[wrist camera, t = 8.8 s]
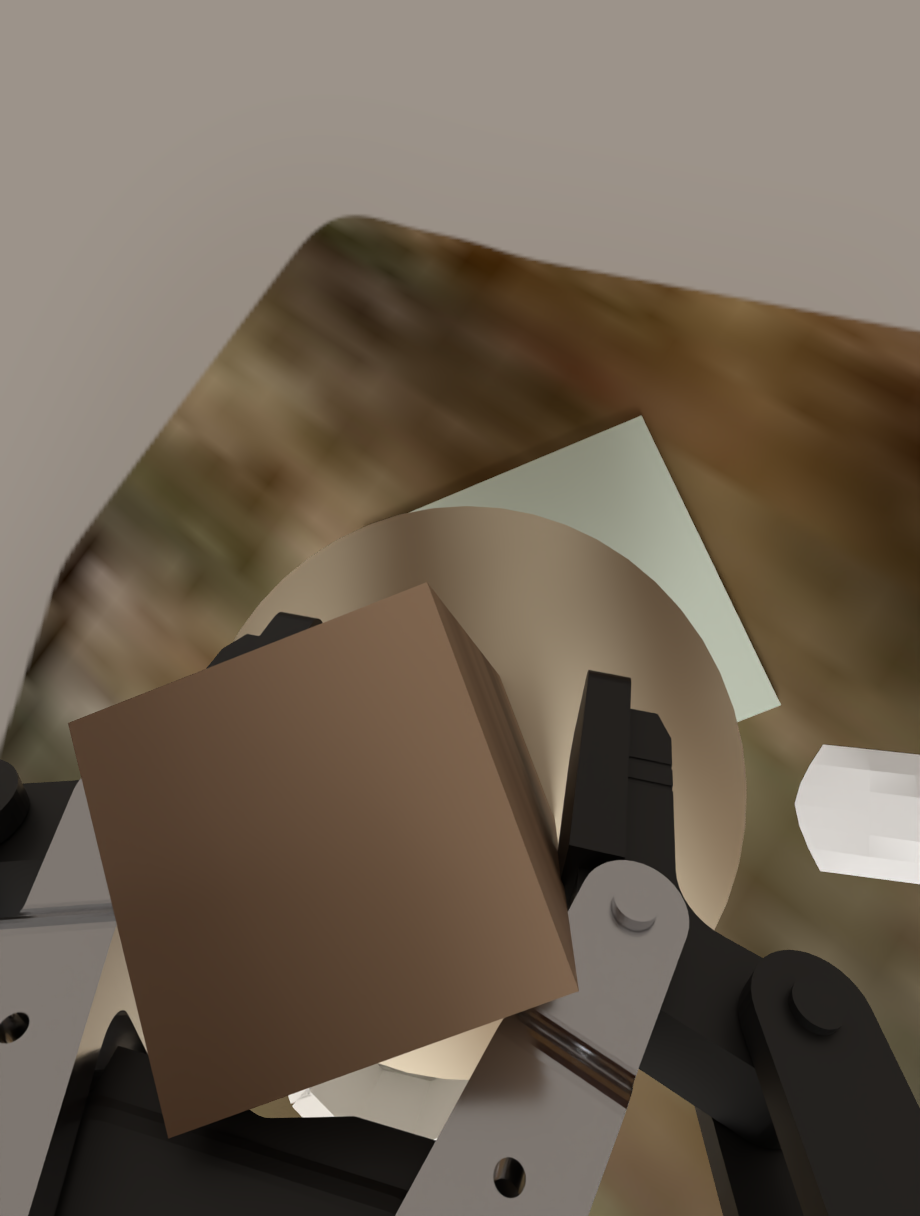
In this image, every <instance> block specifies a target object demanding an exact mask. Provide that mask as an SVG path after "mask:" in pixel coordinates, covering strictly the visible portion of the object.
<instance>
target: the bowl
mask: <svg viewBox="0 0 920 1216" xmlns="http://www.w3.org/2000/svg"><path fill="white" fill-rule="evenodd" d="M468 1081H469V1080H456V1079H441V1078H436V1077H430V1076H424V1075H418V1074H413V1073H407V1072H404V1071H401V1070H398V1069H395V1068H392V1067H389V1066H386V1065H382V1064H379V1063H377V1064H374V1065H372V1066H369V1067H366V1068H363V1069H361V1070H358V1071H355V1072H352V1073H349V1074H347V1075H344V1076H341V1077H338V1078H335V1079H333V1080H330V1081H327V1082H324V1083H322V1084H319V1085H316V1086H313V1087H310V1088H308V1089H305V1090H302V1091H299V1092H296V1093H294V1094H291V1095H288V1096H289V1100H290V1103H293V1102H295V1103H294V1105H293V1106H292V1107H293V1108H294V1109H295V1110H296V1111H297V1112H298V1113H299V1114H300V1115H301V1116H302V1117H343V1116H356V1117H359V1118H362V1119H366V1120H369V1121H373V1122H376V1123H379V1124H383V1125H386V1126H389V1127H393V1128H396V1129H399V1130H403V1131H406V1132H409V1133H413V1134H416V1135H420V1136H423V1137H426V1138H430V1139H433V1140H437V1138H438V1136H439V1134H440V1132H441V1131H442V1129H443V1127H444V1125H445V1123H446V1121H447V1120H448V1118H449V1116H450V1114H451V1112H452V1110H453V1109H454V1107H455V1105H456V1103H457V1101H458V1099H459V1098H460V1096H461V1094H462V1092H463V1090H464V1088H465V1087H466V1085H467V1083H468Z"/></svg>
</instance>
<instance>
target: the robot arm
mask: <svg viewBox="0 0 920 1216" xmlns="http://www.w3.org/2000/svg"><path fill="white" fill-rule="evenodd" d="M322 623H323V622H322V621H321V619H318V618H312V617H307V616H302V615H296V614H291V613H285V612H279V613H277V614H276V615H275V616H274V618H273V619H272V620H271V621H270V623H269V624H268V625H267V627H266V628H265V629H264V631H263V632H262V633H261V635H260V636H256V635H251V634H246V635H244V636H242V637H241V638H239V639H238V640H236V641H234V642H233V643H231V644H230V645H228V646H226V647H225V648H223V649H222V650H221V651H220V652H219V654H218V655H217V656H216V657H215V658H214V660H213V661H212V662H211V663H210V665H209V666H208V667H207V668H210V667H212V666H215V665H217V664H220V663H222V662H225V661H227V660H230V659H233V658H235V657H238V656H240V655H243V654H245V653H248V652H250V651H253V650H255V649H258V648H260V647H263V646H266V645H268V644H271V643H273V642H276V641H278V640H281V639H283V638H286V637H288V636H291V635H294V634H296V633H299V632H301V631H304V630H306V629H309V628H311V627H314V626H316V625H319V624H322ZM207 668H206V669H207ZM630 708H631V678H630V677H625V676H619V675H614V674H609V673H603V672H598V671H593V670H588V672H587V676H586V680H585V685H584V689H583V694H582V699H581V703H580V708H579V713H578V717H577V722H576V726H575V731H574V736H573V741H572V747H571V753H570V759H569V765H568V773H567V781H566V788H565V796H564V804H563V812H562V819H561V827H560V835H559V843H558V850H557V852H558V860H559V868H560V876H561V880H562V883H563V885H564V888H565V895H566V903H567V910H568V912H567V913H568V917H569V924H570V931H571V938H572V945H573V952H574V959H575V967H576V974H577V981H578V988H579V991H578V992H575V993H572V994H569V995H567V996H564V997H561V998H558V999H555V1000H553V1001H550V1002H547V1003H544V1004H542V1005H539V1006H536V1007H533V1008H530V1009H528V1010H525V1011H522V1012H519V1013H516V1014H514V1015H511V1016H508V1017H505V1018H504V1019H503V1020H502V1022H501V1023H500V1025H499V1027H498V1028H497V1030H496V1032H495V1033H494V1035H493V1037H492V1039H491V1041H490V1042H489V1044H488V1046H487V1048H486V1050H485V1052H484V1053H483V1055H482V1057H481V1059H480V1061H479V1063H478V1064H477V1066H476V1068H475V1070H474V1072H473V1074H472V1075H471V1077H470V1079H469V1081H468V1083H467V1085H466V1087H465V1088H464V1090H463V1092H462V1094H461V1096H460V1098H459V1099H458V1101H457V1103H456V1105H455V1107H454V1109H453V1110H452V1112H451V1114H450V1116H449V1118H448V1120H447V1121H446V1123H445V1125H444V1127H443V1129H442V1131H441V1132H440V1134H439V1136H438V1138H437V1140H433V1139H430V1138H426V1137H423V1136H420V1135H416V1134H413V1133H409V1132H406V1131H403V1130H399V1129H396V1128H393V1127H389V1126H386V1125H383V1124H379V1123H376V1122H373V1121H369V1120H366V1119H362V1118H359V1117H356V1116H343V1117H301V1118H264V1117H261V1116H258V1115H257V1114H255V1113H253V1112H252V1111H251V1110H246V1111H244V1112H241V1113H238V1114H235V1115H232V1116H230V1117H227V1118H224V1119H221V1120H218V1121H216V1122H213V1123H210V1124H207V1125H205V1126H202V1127H199V1128H196V1129H193V1130H191V1131H188V1132H185V1133H182V1134H180V1135H177V1136H174V1137H171V1138H168V1135H167V1131H166V1127H165V1122H164V1118H163V1114H162V1110H161V1106H160V1102H159V1098H158V1093H157V1089H156V1085H155V1081H154V1077H153V1073H152V1069H151V1064H150V1060H149V1056H148V1052H147V1048H146V1044H145V1040H144V1035H143V1031H142V1027H141V1023H140V1019H139V1015H138V1011H137V1006H136V1002H135V998H134V994H133V990H132V986H131V982H130V977H129V973H128V969H127V965H126V961H125V957H124V953H123V948H122V944H121V940H120V936H119V932H118V928H117V924H116V919H115V915H114V911H113V907H112V903H111V899H110V895H109V890H108V886H107V882H106V878H105V874H104V870H103V866H102V861H101V857H100V853H99V849H98V845H97V841H96V837H95V832H94V828H93V824H92V820H91V816H90V812H89V808H88V803H87V799H86V795H85V791H84V787H83V783H82V779H80V780H75V781H61V782H44V783H27V784H22V782H21V780H20V778H19V776H18V773H17V771H16V770H15V768H14V767H13V766H12V765H11V764H9V763H8V762H5V761H3V760H0V1216H588V1214H589V1212H590V1209H591V1206H592V1203H593V1201H594V1198H595V1195H596V1192H597V1190H598V1187H599V1184H600V1182H601V1179H602V1176H603V1173H604V1171H605V1168H606V1165H607V1162H608V1160H609V1157H610V1154H611V1151H612V1149H613V1146H614V1143H615V1140H616V1138H617V1135H618V1132H619V1129H620V1127H621V1124H622V1121H623V1118H624V1115H625V1112H626V1110H627V1107H628V1104H629V1100H630V1097H631V1094H632V1090H633V1088H632V1087H633V1083H634V1080H635V1077H636V1074H637V1071H638V1069H640V1070H642V1071H643V1072H645V1073H646V1074H648V1075H649V1076H651V1077H652V1078H654V1079H655V1080H657V1081H658V1082H660V1083H661V1084H663V1085H664V1086H666V1087H667V1088H669V1089H670V1090H672V1091H673V1092H675V1093H676V1094H678V1095H679V1096H681V1097H682V1098H684V1099H685V1100H687V1101H688V1102H690V1103H691V1104H693V1105H694V1106H695V1109H696V1113H697V1117H698V1121H699V1124H700V1128H701V1132H702V1136H703V1140H704V1144H705V1147H706V1151H707V1155H708V1159H709V1163H710V1167H711V1170H712V1174H713V1178H714V1182H715V1186H716V1190H717V1193H718V1197H719V1201H720V1205H721V1209H722V1213H723V1216H920V1108H919V1106H918V1104H917V1102H916V1100H915V1098H914V1096H913V1094H912V1092H911V1089H910V1087H909V1085H908V1083H907V1081H906V1079H905V1077H904V1075H903V1073H902V1071H901V1069H900V1067H899V1065H898V1063H897V1061H896V1059H895V1057H894V1054H893V1052H892V1050H891V1048H890V1046H889V1044H888V1042H887V1040H886V1038H885V1036H884V1034H883V1032H882V1030H881V1028H880V1026H879V1024H878V1022H877V1019H876V1017H875V1015H874V1013H873V1011H872V1009H871V1007H870V1006H869V1004H868V1002H867V1000H866V999H865V997H864V996H863V994H862V993H861V992H860V990H859V989H858V988H857V987H856V985H855V984H854V983H853V982H852V981H851V980H850V979H849V978H848V977H847V976H846V975H845V974H843V973H842V972H841V971H840V970H839V969H837V968H836V967H834V966H833V965H832V964H830V963H829V962H827V961H825V960H823V959H821V958H819V957H817V956H814V955H812V954H809V953H806V952H801V951H795V950H782V951H777V952H774V953H771V954H769V955H768V956H766V957H764V958H761V957H760V956H758V955H756V954H754V953H752V952H751V951H749V950H747V949H745V948H743V947H742V946H740V945H738V944H736V943H734V942H733V941H731V940H729V939H727V938H725V937H724V936H722V935H720V934H719V933H717V932H716V931H714V930H713V929H712V928H710V927H709V926H708V925H706V924H705V923H704V922H703V921H702V920H701V919H700V918H699V917H698V916H697V915H696V914H695V913H694V911H693V910H692V909H691V908H690V906H689V905H688V903H687V902H686V900H685V898H684V897H683V894H682V892H681V890H680V888H679V884H678V881H677V876H676V860H675V830H674V800H673V791H672V788H673V771H672V741H671V737H670V735H669V733H668V732H667V730H666V728H665V726H664V724H663V722H662V720H661V719H660V717H659V715H658V714H656V713H651V712H646V711H641V710H636V709H630Z"/></svg>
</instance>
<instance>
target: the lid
mask: <svg viewBox="0 0 920 1216" xmlns="http://www.w3.org/2000/svg"><path fill="white" fill-rule="evenodd" d="M279 612H285V613H291V614H296V615H302V616H307V617H312V618H318V619H321V621H322V622H323V623H322V624H319V625H316V626H314V627H311V628H309V629H306V630H304V631H301V632H299V633H296V634H294V635H291V636H288V637H286V638H283V639H281V640H278V641H276V642H273V643H271V644H268V645H266V646H263V647H260V648H258V649H255V650H253V651H250V652H248V653H245V654H243V655H240V656H238V657H235V658H233V659H230V660H227V661H225V662H222V663H220V664H217V665H215V666H212V667H210V668H207V669H205V670H202V671H199V672H197V673H194V674H192V675H189V676H187V677H184V678H182V679H179V680H177V681H174V682H171V683H169V684H166V685H164V686H161V687H159V688H156V689H154V690H151V691H149V692H146V693H143V694H141V695H138V696H136V697H133V698H131V699H128V700H126V701H123V702H121V703H118V704H116V705H113V706H110V707H108V708H105V709H103V710H100V711H98V712H95V713H93V714H90V715H88V716H85V717H82V718H80V719H77V720H75V721H72V722H70V723H68V725H69V729H70V733H71V737H72V741H73V745H74V750H75V754H76V758H77V762H78V766H79V770H80V774H81V779H82V783H83V787H84V791H85V795H86V799H87V803H88V808H89V812H90V816H91V820H92V824H93V828H94V832H95V837H96V841H97V845H98V849H99V853H100V857H101V861H102V866H103V870H104V874H105V878H106V882H107V886H108V890H109V895H110V899H111V903H112V907H113V911H114V915H115V919H116V924H117V928H118V932H119V936H120V940H121V944H122V948H123V953H124V957H125V961H126V965H127V969H128V973H129V977H130V982H131V986H132V990H133V994H134V998H135V1002H136V1006H137V1011H138V1015H139V1019H140V1023H141V1027H142V1031H143V1035H144V1040H145V1044H146V1048H147V1052H148V1056H149V1060H150V1064H151V1069H152V1073H153V1077H154V1081H155V1085H156V1089H157V1093H158V1098H159V1102H160V1106H161V1110H162V1114H163V1118H164V1122H165V1127H166V1131H167V1135H168V1138H171V1137H174V1136H177V1135H180V1134H182V1133H185V1132H188V1131H191V1130H193V1129H196V1128H199V1127H202V1126H205V1125H207V1124H210V1123H213V1122H216V1121H218V1120H221V1119H224V1118H227V1117H230V1116H232V1115H235V1114H238V1113H241V1112H244V1111H246V1110H249V1109H252V1108H255V1107H257V1106H260V1105H263V1104H266V1103H269V1102H271V1101H274V1100H277V1099H280V1098H283V1097H285V1096H288V1095H291V1094H294V1093H296V1092H299V1091H302V1090H305V1089H308V1088H310V1087H313V1086H316V1085H319V1084H322V1083H324V1082H327V1081H330V1080H333V1079H335V1078H338V1077H341V1076H344V1075H347V1074H349V1073H352V1072H355V1071H358V1070H361V1069H363V1068H366V1067H369V1066H372V1065H374V1064H377V1063H379V1064H382V1065H386V1066H389V1067H392V1068H395V1069H398V1070H401V1071H404V1072H407V1073H413V1074H418V1075H424V1076H430V1077H436V1078H441V1079H456V1080H469V1079H470V1077H471V1075H472V1074H473V1072H474V1070H475V1068H476V1066H477V1064H478V1063H479V1061H480V1059H481V1057H482V1055H483V1053H484V1052H485V1050H486V1048H487V1046H488V1044H489V1042H490V1041H491V1039H492V1037H493V1035H494V1033H495V1032H496V1030H497V1028H498V1027H499V1025H500V1023H501V1022H502V1020H503V1019H504V1018H505V1017H508V1016H511V1015H514V1014H516V1013H519V1012H522V1011H525V1010H528V1009H530V1008H533V1007H536V1006H539V1005H542V1004H544V1003H547V1002H550V1001H553V1000H555V999H558V998H561V997H564V996H567V995H569V994H572V993H575V992H578V991H579V988H578V981H577V974H576V967H575V959H574V952H573V945H572V938H571V931H570V924H569V917H568V913H567V912H568V910H567V903H566V895H565V888H564V885H563V883H562V880H561V876H560V868H559V860H558V852H557V850H558V843H559V835H560V827H561V819H562V812H563V804H564V796H565V788H566V781H567V773H568V765H569V759H570V753H571V747H572V741H573V736H574V731H575V726H576V722H577V717H578V713H579V708H580V703H581V699H582V694H583V689H584V685H585V680H586V676H587V672H588V670H593V671H598V672H603V673H609V674H614V675H619V676H625V677H630V678H631V708H630V709H636V710H641V711H646V712H651V713H656V714H658V715H659V717H660V719H661V720H662V722H663V724H664V726H665V728H666V730H667V732H668V733H669V735H670V737H671V741H672V771H673V788H672V791H673V800H674V830H675V860H676V876H677V881H678V884H679V888H680V890H681V892H682V894H683V897H684V898H685V900H686V902H687V903H688V905H689V906H690V908H691V909H692V910H693V911H694V913H695V914H696V915H697V916H698V917H699V918H700V919H701V920H702V921H703V922H704V923H705V924H706V925H708V926H709V927H710V928H712V929H713V930H714V929H715V927H716V925H717V923H718V921H719V919H720V917H721V914H722V912H723V910H724V908H725V906H726V904H727V901H728V898H729V895H730V892H731V888H732V885H733V882H734V879H735V875H736V872H737V869H738V866H739V861H740V855H741V849H742V843H743V837H744V831H745V825H746V794H747V783H746V773H745V763H744V753H743V745H742V741H741V737H740V732H739V728H738V724H737V720H736V716H735V711H734V708H733V705H732V702H731V700H730V697H729V694H728V692H727V689H726V687H725V684H724V681H723V679H722V676H721V673H720V671H719V669H718V668H717V666H716V664H715V662H714V660H713V658H712V656H711V655H710V653H709V651H708V649H707V647H706V645H705V643H704V641H703V640H702V638H701V637H700V635H699V634H698V633H697V631H696V630H695V628H694V627H693V626H692V624H691V623H690V621H689V620H688V618H687V617H686V616H685V614H684V613H683V611H682V610H681V609H680V608H679V607H678V606H677V604H676V603H675V602H674V601H673V600H672V599H671V598H670V597H669V596H668V595H667V594H666V593H665V592H664V590H663V589H662V588H661V587H660V586H659V585H658V584H657V583H656V582H655V581H654V580H653V579H651V578H650V577H649V576H648V575H647V574H645V573H644V572H643V571H642V570H641V569H639V568H638V567H637V566H636V565H635V564H633V563H632V562H631V561H630V560H629V559H627V558H626V557H624V556H623V555H621V554H619V553H618V552H616V551H615V550H613V549H612V548H610V547H608V546H607V545H605V544H604V543H602V542H601V541H599V540H597V539H595V538H593V537H591V536H589V535H587V534H584V533H582V532H580V531H578V530H576V529H574V528H572V527H570V526H567V525H565V524H562V523H559V522H556V521H553V520H549V519H546V518H543V517H540V516H537V515H534V514H529V513H524V512H518V511H513V510H508V509H503V508H491V507H475V506H459V507H443V508H431V509H426V510H421V511H416V512H411V513H405V514H400V515H397V516H394V517H391V518H388V519H385V520H382V521H379V522H376V523H373V524H370V525H367V526H365V527H363V528H361V529H358V530H356V531H354V532H352V533H350V534H348V535H346V536H344V537H342V538H339V539H337V540H336V541H334V542H333V543H331V544H330V545H328V546H326V547H325V548H323V549H322V550H320V551H319V552H317V553H315V554H314V555H312V556H311V557H309V558H308V559H307V560H305V561H304V562H303V563H302V564H301V565H299V566H298V567H297V568H296V569H295V570H293V571H292V572H291V573H290V574H288V575H287V576H286V577H285V578H284V579H283V580H282V581H281V582H280V583H279V584H278V585H277V586H276V587H275V588H274V589H273V590H272V591H271V592H270V593H269V594H268V595H267V596H266V597H265V598H264V600H263V601H262V602H261V603H260V604H259V605H258V607H257V608H256V609H255V611H254V612H253V613H252V615H251V616H250V617H249V619H248V620H247V621H246V623H245V624H244V625H243V627H242V628H241V629H240V631H239V633H238V634H237V636H236V638H235V640H234V641H236V640H238V639H239V638H241V637H242V636H244V635H246V634H251V635H256V636H260V635H261V633H262V632H263V631H264V629H265V628H266V627H267V625H268V624H269V623H270V621H271V620H272V619H273V618H274V616H275V615H276V614H277V613H279ZM234 641H233V642H234Z"/></svg>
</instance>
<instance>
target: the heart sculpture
mask: <svg viewBox="0 0 920 1216" xmlns="http://www.w3.org/2000/svg"><path fill="white" fill-rule="evenodd" d="M795 807H796V812H797V817H798V822H799V826H800V828H801V831H802V833H803V836H804V838H805V841H806V843H807V846H808V848H809V850H810V852H811V854H812V856H813V858H814V860H815V862H816V864H817V866H818V868H819V870H820V871H824V872H832V873H839V874H847V875H855V876H862V877H870V878H877V879H885V880H893V881H900V882H908V883H915V884H920V755H918V754H908V753H899V752H889V751H880V750H871V749H861V748H852V747H842V746H833V745H824V744H823V746H822V747H821V749H820V750H819V752H818V753H817V755H816V756H815V758H814V759H813V761H812V762H811V764H810V766H809V768H808V770H807V772H806V774H805V776H804V778H803V780H802V781H801V783H800V787H799V790H798V794H797V797H796V801H795Z"/></svg>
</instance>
